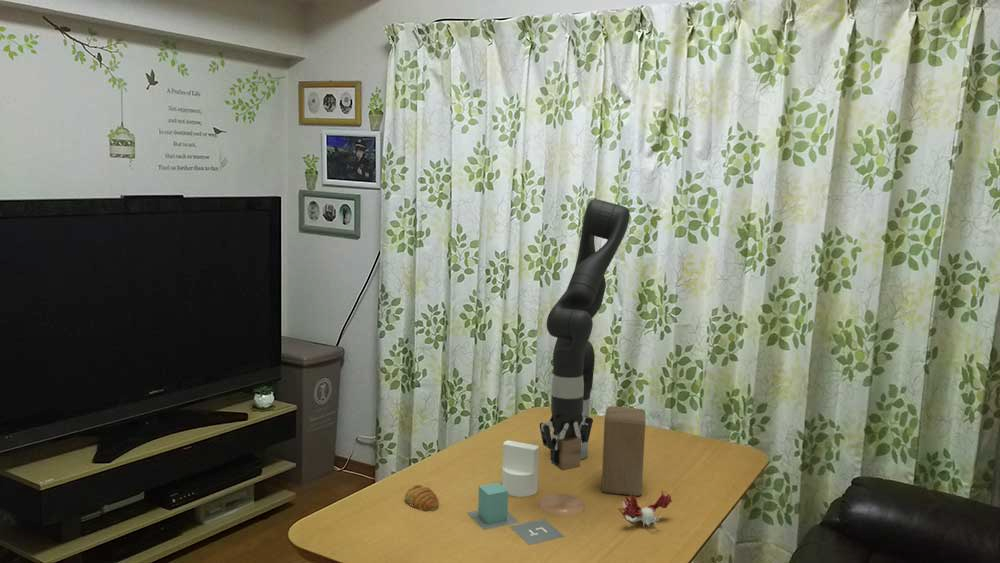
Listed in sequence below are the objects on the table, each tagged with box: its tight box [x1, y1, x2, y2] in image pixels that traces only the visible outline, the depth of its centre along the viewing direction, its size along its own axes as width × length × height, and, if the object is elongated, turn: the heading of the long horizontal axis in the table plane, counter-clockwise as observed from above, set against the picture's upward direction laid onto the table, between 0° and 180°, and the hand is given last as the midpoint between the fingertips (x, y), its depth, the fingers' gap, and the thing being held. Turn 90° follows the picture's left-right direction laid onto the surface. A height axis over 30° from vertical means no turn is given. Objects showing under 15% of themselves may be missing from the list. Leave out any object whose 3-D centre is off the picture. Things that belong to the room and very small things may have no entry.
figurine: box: [617, 490, 673, 530], centre depth 166 cm, size 15×12×7 cm
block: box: [600, 405, 646, 497], centre depth 183 cm, size 10×10×20 cm
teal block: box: [477, 482, 509, 524], centre depth 165 cm, size 5×5×7 cm
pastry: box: [404, 484, 440, 512], centre depth 172 cm, size 9×7×4 cm
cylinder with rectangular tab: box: [501, 440, 540, 498], centre depth 180 cm, size 9×9×12 cm
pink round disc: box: [538, 493, 585, 516], centre depth 173 cm, size 11×11×1 cm
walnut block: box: [550, 434, 581, 471], centre depth 171 cm, size 5×5×7 cm
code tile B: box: [467, 510, 520, 531], centre depth 166 cm, size 9×9×1 cm
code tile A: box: [509, 518, 565, 546], centre depth 159 cm, size 9×9×1 cm
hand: (565, 461), depth 171 cm, fingers closed on walnut block, 5 cm apart
